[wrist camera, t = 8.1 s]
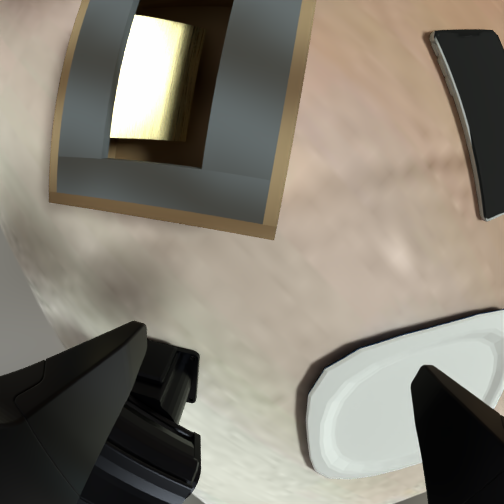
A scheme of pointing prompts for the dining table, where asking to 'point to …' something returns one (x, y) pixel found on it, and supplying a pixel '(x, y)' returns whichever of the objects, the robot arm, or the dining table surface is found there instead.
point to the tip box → (200, 122)
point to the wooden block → (157, 80)
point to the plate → (396, 394)
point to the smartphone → (478, 106)
